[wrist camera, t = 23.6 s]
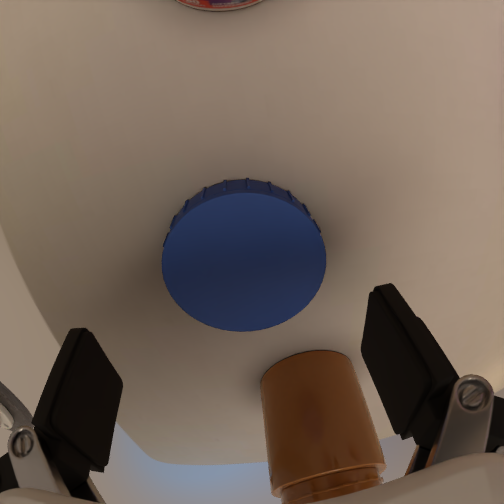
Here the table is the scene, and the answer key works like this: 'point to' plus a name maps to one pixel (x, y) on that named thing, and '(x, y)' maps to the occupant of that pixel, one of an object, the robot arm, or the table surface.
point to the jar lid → (243, 256)
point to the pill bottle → (218, 4)
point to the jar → (318, 429)
